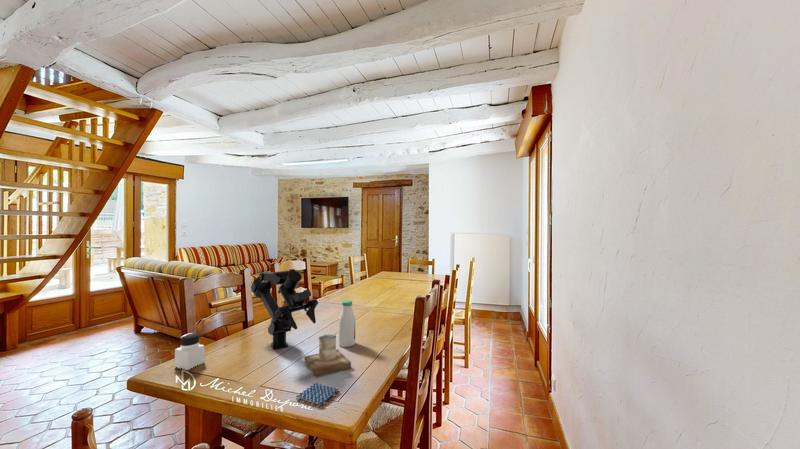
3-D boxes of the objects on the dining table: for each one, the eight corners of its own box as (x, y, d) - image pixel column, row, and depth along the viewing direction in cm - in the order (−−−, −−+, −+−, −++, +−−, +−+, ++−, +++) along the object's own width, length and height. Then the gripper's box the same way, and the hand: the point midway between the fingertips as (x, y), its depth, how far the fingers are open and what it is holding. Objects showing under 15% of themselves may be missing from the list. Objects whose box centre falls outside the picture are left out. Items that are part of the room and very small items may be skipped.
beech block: (319, 359, 125) (319, 336, 125) (328, 355, 129) (329, 333, 129) (326, 362, 122) (326, 339, 122) (335, 357, 127) (336, 335, 126)
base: (304, 362, 128) (304, 356, 128) (337, 355, 135) (337, 348, 135) (315, 377, 116) (315, 370, 116) (350, 368, 124) (350, 361, 124)
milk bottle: (351, 348, 143) (352, 303, 142) (335, 346, 144) (336, 302, 144) (357, 341, 150) (357, 299, 150) (342, 340, 152) (342, 298, 152)
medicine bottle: (204, 362, 127) (205, 332, 127) (187, 370, 120) (187, 339, 120) (191, 359, 129) (191, 330, 129) (174, 367, 123) (174, 336, 122)
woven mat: (321, 411, 97) (321, 404, 97) (294, 402, 101) (294, 396, 101) (341, 394, 106) (341, 388, 106) (316, 386, 111) (316, 381, 110)
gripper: (278, 287, 127) (295, 320, 121) (315, 280, 142) (332, 309, 136) (267, 304, 132) (283, 336, 125) (304, 295, 147) (320, 324, 141)
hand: (306, 325), depth 132 cm, fingers open, 9 cm apart
